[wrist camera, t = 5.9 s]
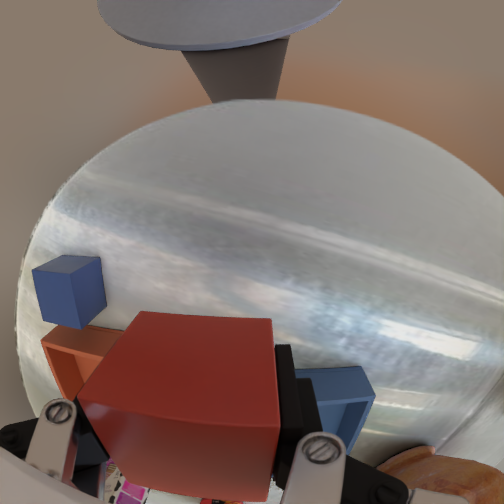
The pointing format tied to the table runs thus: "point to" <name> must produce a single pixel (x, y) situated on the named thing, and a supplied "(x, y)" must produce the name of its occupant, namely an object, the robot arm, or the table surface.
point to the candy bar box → (122, 488)
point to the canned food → (218, 501)
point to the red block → (189, 405)
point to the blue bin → (341, 400)
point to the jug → (447, 475)
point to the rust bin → (76, 354)
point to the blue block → (70, 290)
